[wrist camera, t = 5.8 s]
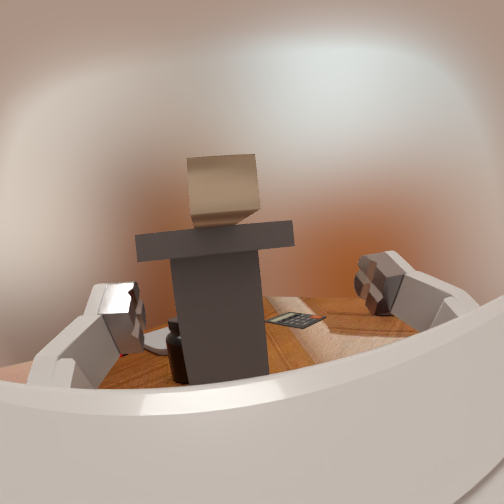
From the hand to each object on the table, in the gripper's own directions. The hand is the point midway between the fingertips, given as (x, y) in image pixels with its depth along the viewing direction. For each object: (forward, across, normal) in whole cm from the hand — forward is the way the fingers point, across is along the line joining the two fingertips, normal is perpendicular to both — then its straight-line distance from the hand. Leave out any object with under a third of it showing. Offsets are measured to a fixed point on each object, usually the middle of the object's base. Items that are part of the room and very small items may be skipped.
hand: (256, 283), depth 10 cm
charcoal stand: (+4, -1, -29) cm, 30 cm away
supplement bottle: (+24, -7, -41) cm, 48 cm away
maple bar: (+13, 0, -4) cm, 14 cm away
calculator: (+49, +24, -56) cm, 78 cm away
